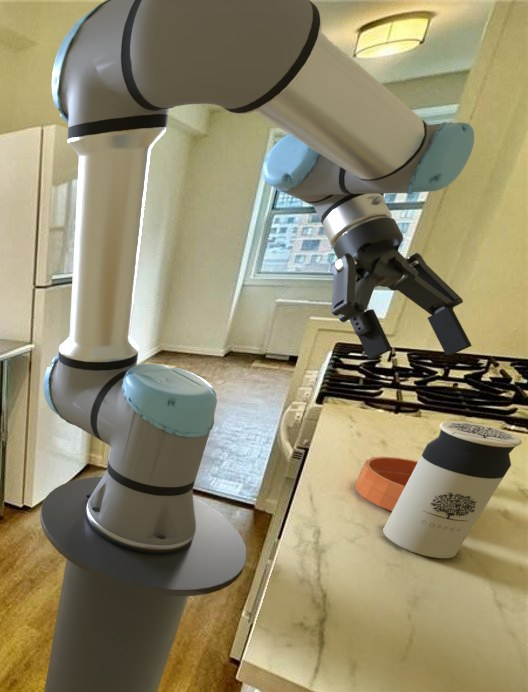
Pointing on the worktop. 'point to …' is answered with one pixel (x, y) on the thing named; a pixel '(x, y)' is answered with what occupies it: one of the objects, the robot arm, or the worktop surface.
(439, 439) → the travel mug
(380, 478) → the bowl
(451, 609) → the worktop surface
